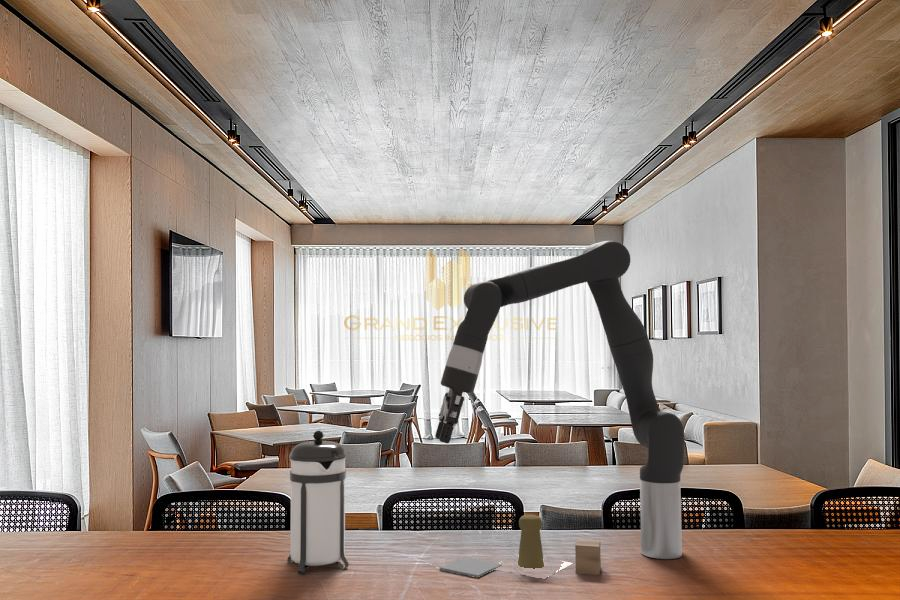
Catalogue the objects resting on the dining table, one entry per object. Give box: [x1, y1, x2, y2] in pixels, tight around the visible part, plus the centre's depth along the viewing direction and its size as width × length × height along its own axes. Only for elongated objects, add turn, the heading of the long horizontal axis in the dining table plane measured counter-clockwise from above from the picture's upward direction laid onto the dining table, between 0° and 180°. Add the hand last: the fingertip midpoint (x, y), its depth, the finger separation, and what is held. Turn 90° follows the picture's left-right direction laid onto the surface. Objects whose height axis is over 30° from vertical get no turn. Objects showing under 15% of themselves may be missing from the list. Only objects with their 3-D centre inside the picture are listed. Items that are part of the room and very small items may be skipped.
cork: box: [517, 514, 544, 569], centre depth 170 cm, size 6×6×11 cm
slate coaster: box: [439, 556, 502, 578], centre depth 168 cm, size 10×10×1 cm
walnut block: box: [574, 538, 602, 575], centre depth 167 cm, size 5×5×6 cm
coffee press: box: [287, 430, 349, 576], centre depth 173 cm, size 17×16×30 cm
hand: (441, 440), depth 166 cm, fingers open, 8 cm apart
